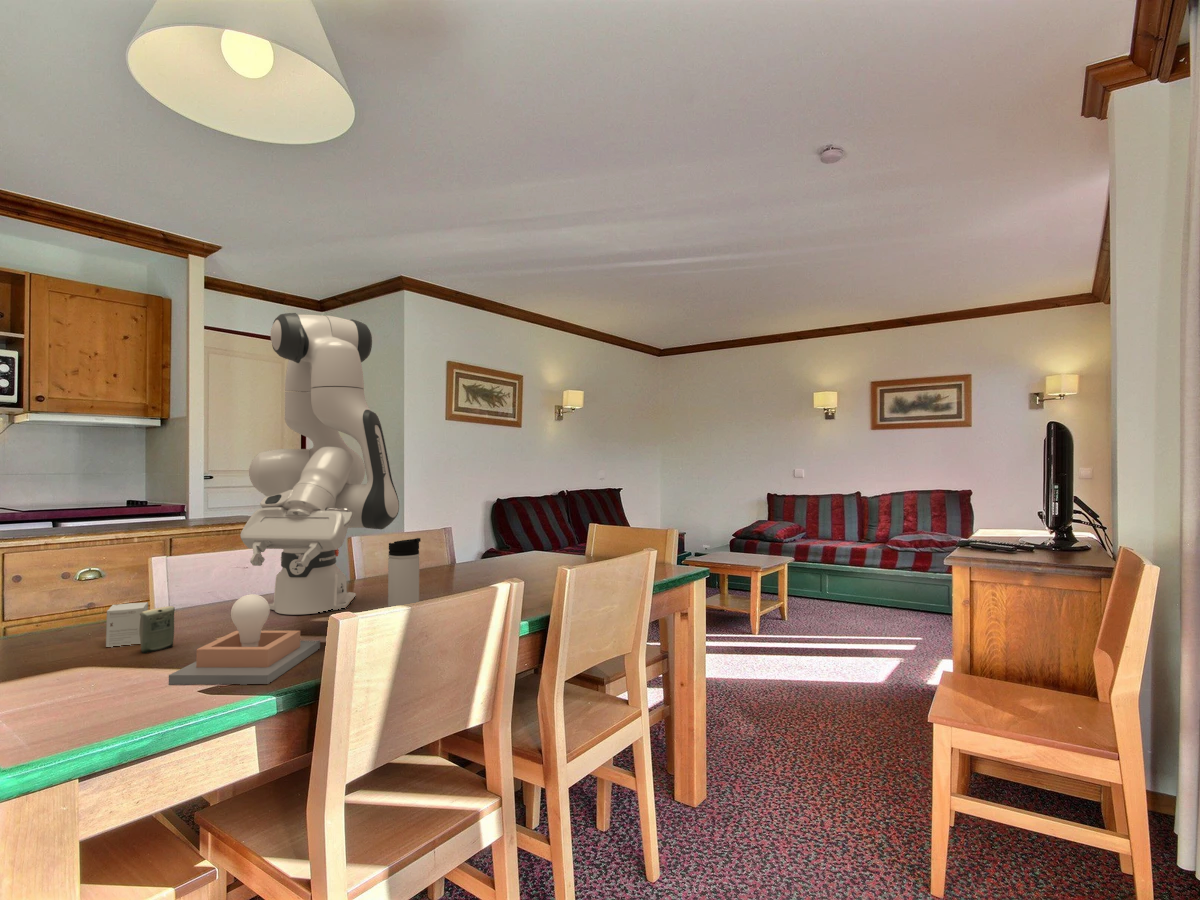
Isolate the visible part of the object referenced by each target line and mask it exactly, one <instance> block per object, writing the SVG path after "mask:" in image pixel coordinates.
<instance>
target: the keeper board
mask: <svg viewBox="0 0 1200 900" xmlns="http://www.w3.org/2000/svg"><path fill="white" fill-rule="evenodd" d="M318 649H319V650H320V649H321V640H301V630H261V634H260V640H259V642H258V647H242V644H241V642H240V636H239V632H238V630H235V631H232V632H230V633H228V634H226V635H224V636H222V637H219V638H218V639H216V640H213V641H211V642H209V643H207V644H205V645H203V646H201V647H198V648H197V649H196V653H195V654H196V659H195V660H196V661H194V662H192V663H190V664H188V665H186V666H184V667H182V668H181V669H178V670H176V671H174V672H172V673H170V674H168V685H191V684H205V686H206V684H210V685H211V684H215V685H216V684H224V686H225V684H228V685H229V684H240V685H242V686H243V685H244V686H245V685H247V684H268V685H269V684H270V682H271V683H272V682H273V681H275V680H276V679H278V678H279V677H281V676H282V675H284V674H285V673H287V672H288V671H290V670H291V669H293V668H294V667H295V666H297V665H299V664H300V663H301V662H302V661H304V660H305V659H307V658H308V657H310V656H311V655H313V654H314V653H316V652H317V651H318ZM229 686H230V685H229Z"/></svg>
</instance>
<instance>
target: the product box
mask: <svg viewBox="0 0 1200 900" xmlns="http://www.w3.org/2000/svg"><path fill="white" fill-rule="evenodd" d="M147 610H149V602H148V601H147V602H130V603H129V602H128V603H120V604H119V603H118V604H112V605H111V606H110V607H109V609H107V610H106V624H105V625H106V627H105V628H106V629H105V631H106V633H105V648H106V647H111V648H114V647H113V646H120V647H122V646H121V645H130V646H132V645H131V644H141V643H140V635H139V627H140V617H141V616H140V613H141V612H143V611H147Z"/></svg>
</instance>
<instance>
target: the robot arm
mask: <svg viewBox="0 0 1200 900" xmlns="http://www.w3.org/2000/svg"><path fill="white" fill-rule="evenodd" d="M270 341H271V345H272V349H273V351H274V352H275V353H276V354H277V355H278V357H280V358H283V359H286V360H288V362H287V366H286V372H285V383H284V421H285V424H286V425H287V427H288V428H289V429H290V430H292V431H293V432H296V433H297V434H298V435H302V436H304V437H306V438H308V439H309V440H310V441H311V442H312V444H313V445H312V446H313V447H312V448H277V449H271V450H270V449H269V450H266V451H265V450H264V451H259V452H258V453H257V454H256V455H255V456H254V457H253V459H252V460H251V462H250V465H249V468H248V475H249V476H248V477H249V480H250V482H251V484H252V485H253V487H254V488H255V489H256V490H257V491H258V492H260V493H261V494H263V495H264V496H265V497H263V498H262V499H261V501H260V502H259V505H260V508H258V509H257V510H255V511H254V512H253V513H252V514H251V516H250V517H249V518H248V520H247V522H246V523H245V525H244V526H243V528H242V530H241V532H240V534H239V535H240V536H239V537H240V539H241V541H242V543H243V544H244V545H245V546H246V547H247V549H251V550H252V554H253V555H252V557H251V558H250V564H251V565H252V566H255V567H256V566H259V567H261V566H262V565H263V563H264V562H265V560H266V559H265V557H264V556H263V555H262V553H265V551H266V550H282V552H281V554H280V555H281V556H280V566H281V570H280V571H279V572H278V573H276V575H275V583H274V584H275V585H274V594H273V602H272V603H268V604H269V607H270V611H271V610H272V611H274V612H275V613H278V614H280V615H294V616H295V615H310V614H319V613H318V612H320V613H324V612H323V611H326V612H329V611H328V610H331V609H333V610H331V611H338V609H339V610H342V609H341V608H345V607H346V606H347V605H348V604H349V602H350V601H351V600H352V599H353V598H354V597H355V596H356V597H357V593H355V592H351V591H347V589H348V587H347V583H348V582H347V575H346V574H345V573H344V572H343V571H342V570H341V569H340V568H339V567H338V566H337V564H336V563H337V558H336V557H339V555H340V551H339V549H340V548H341V547H343V544H344V542H345V539H346V536H347V533H348V529H351V528H353V529H354V528H355V529H357V528H358V529H359V528H361V529H363V528H364V529H371V530H383V529H386V527H388V526H390V524H392V523H393V521H394V520H396V518H397V516H398V515H399V510H400V501H399V498H398V493H397V491H396V487H395V485H394V481H393V478H392V473H391V468H390V462H389V456H388V452H387V446H386V441H385V436H384V433H383V427H382V424H381V420H380V419H379V416H378V414H377V413H375V412H374V411H372V410H371V409H370V407H369V406H368V402H367V400H366V396H365V382H364V372H363V367H362V363H363V362H364V361H366V360H367V359H368V358H369V356H370V354H371V352H372V348H373V347H372V346H373V336H372V332H371V331H370V328H369V327H368V325H367V324H365V323H364V322H361V321H358V320H356V319H346V318H343V317H338V316H334V315H333V316H332V315H327V314H326V315H325V314H323V315H321V314H320V315H319V314H304V313H303V314H298V313H296V312H286V313H280V314H279V315H278V316H277V317H275V319H274V320H273V322H272V326H271V330H270ZM340 432H341V433H343V434H345V435H347V436H350V437H351V438H353V439H354V440H355V441H356V442H357V443H358V444H359V446H360V448H361V454H362V457H361V456H360V455H359V454H358V453H357V452H356V451H354V450H353V449H352V448H351V447H349V446H348V444H347V443H346V442H345V441H344V440H343V438H342V436H341V434H340ZM362 458H363V459H362ZM365 475H366V479H367V482H366V483H363V481H364V479H365ZM356 597H355V598H356ZM345 609H346V608H345Z"/></svg>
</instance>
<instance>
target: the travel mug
mask: <svg viewBox="0 0 1200 900" xmlns="http://www.w3.org/2000/svg"><path fill="white" fill-rule="evenodd" d="M420 542H422V541H421V537H416V538H412V539H411V538H410V539H404V540H397V541H393V542H389V543H388V559H387V561H388V562H387V563H388V564H387V565H388V568H387V569H388V571H387V575H388V577H387V579H388V580H387V581H388V582H387V608H388V607H391V606H396V605H404V604H410V603H416V602H419V603H420V550H419V549H420Z"/></svg>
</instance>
